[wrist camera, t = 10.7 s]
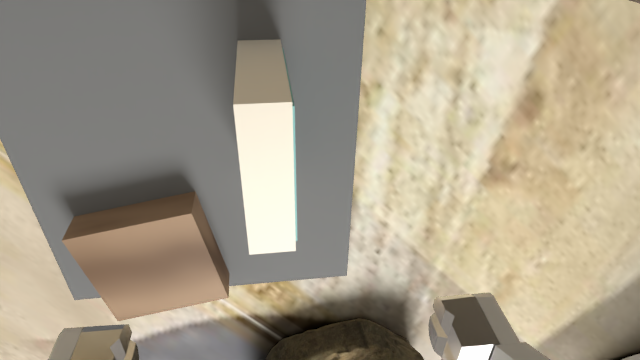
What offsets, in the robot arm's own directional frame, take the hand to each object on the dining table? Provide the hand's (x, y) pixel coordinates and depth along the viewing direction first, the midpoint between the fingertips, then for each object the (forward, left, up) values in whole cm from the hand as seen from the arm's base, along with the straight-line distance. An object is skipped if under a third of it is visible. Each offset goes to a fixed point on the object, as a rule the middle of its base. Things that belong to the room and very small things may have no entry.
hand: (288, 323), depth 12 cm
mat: (-2, +4, -14) cm, 15 cm away
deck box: (0, 0, -13) cm, 13 cm away
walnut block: (-9, +7, -13) cm, 18 cm away
